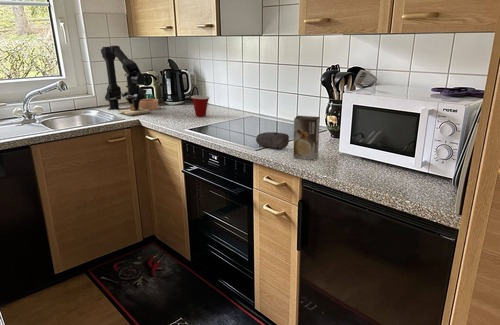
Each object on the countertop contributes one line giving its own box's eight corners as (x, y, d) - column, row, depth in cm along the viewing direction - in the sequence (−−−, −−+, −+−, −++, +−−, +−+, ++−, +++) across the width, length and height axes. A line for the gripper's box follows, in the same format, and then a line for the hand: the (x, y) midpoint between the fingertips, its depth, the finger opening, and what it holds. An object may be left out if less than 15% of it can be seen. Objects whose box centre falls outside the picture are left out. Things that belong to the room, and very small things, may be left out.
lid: (119, 112, 234) (118, 103, 232) (139, 109, 243) (138, 101, 242) (130, 115, 225) (129, 106, 223) (151, 112, 234) (150, 103, 232)
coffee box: (318, 156, 151) (320, 116, 146) (315, 160, 146) (317, 119, 140) (296, 153, 154) (297, 115, 149) (292, 158, 149) (293, 118, 144)
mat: (118, 114, 234) (118, 113, 234) (139, 110, 244) (139, 110, 244) (130, 117, 224) (130, 116, 224) (152, 114, 235) (152, 113, 234)
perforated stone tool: (253, 146, 165) (253, 131, 162) (259, 143, 169) (259, 128, 167) (284, 151, 157) (284, 135, 155) (289, 148, 162) (290, 132, 160)
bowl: (136, 109, 249) (135, 100, 247) (152, 107, 257) (151, 98, 255) (146, 111, 241) (145, 102, 239) (162, 109, 249) (161, 100, 247)
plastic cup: (209, 117, 222) (208, 97, 219) (190, 118, 223) (189, 97, 219) (211, 114, 233) (210, 94, 229) (193, 114, 233) (192, 94, 229)
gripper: (152, 83, 228) (154, 109, 233) (136, 81, 240) (138, 105, 245) (135, 85, 220) (138, 112, 225) (119, 83, 232) (122, 108, 237)
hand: (134, 109), depth 233 cm, fingers closed on lid, 4 cm apart
